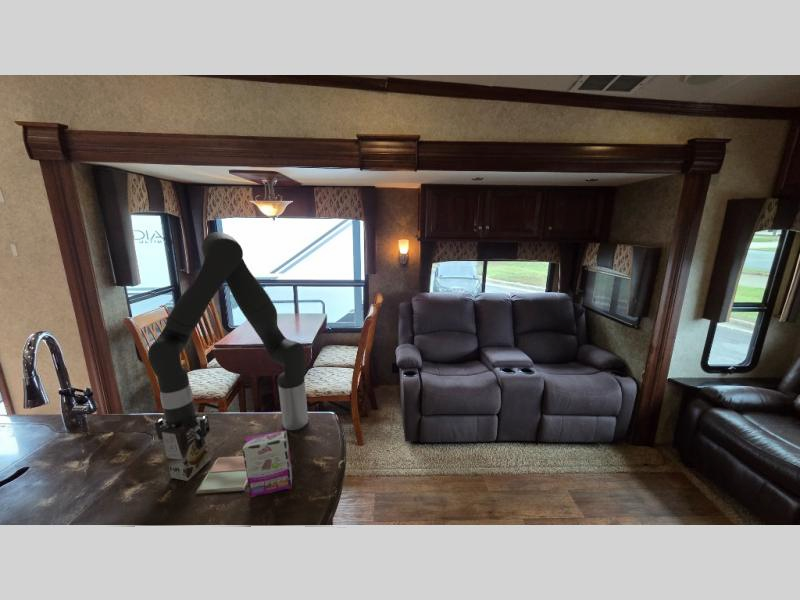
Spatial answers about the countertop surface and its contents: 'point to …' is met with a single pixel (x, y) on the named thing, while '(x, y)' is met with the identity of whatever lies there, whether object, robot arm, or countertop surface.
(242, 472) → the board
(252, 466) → the candy bar box
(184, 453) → the coffee box
